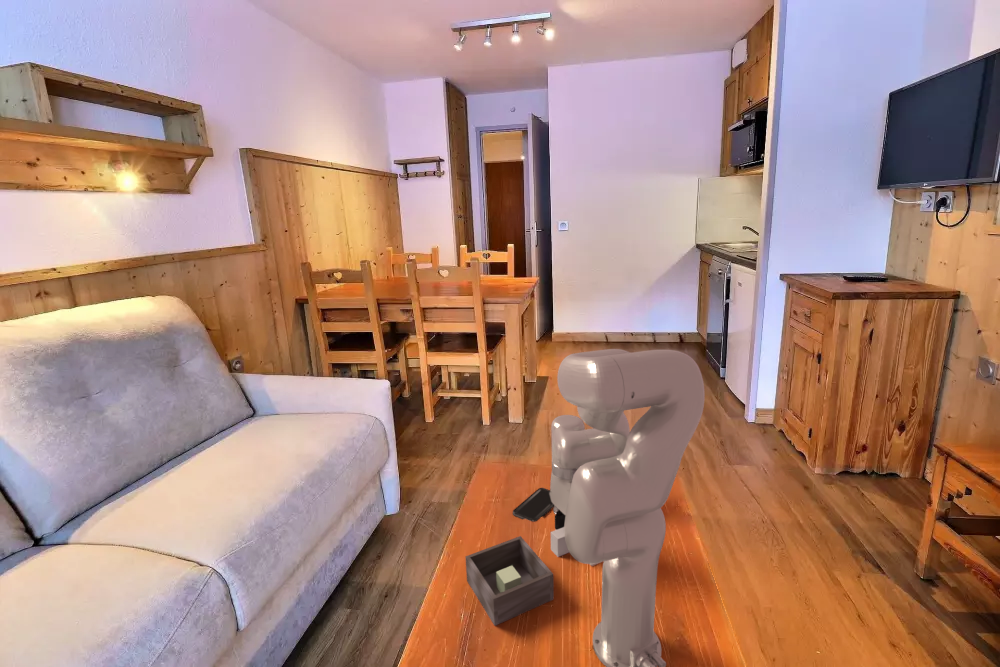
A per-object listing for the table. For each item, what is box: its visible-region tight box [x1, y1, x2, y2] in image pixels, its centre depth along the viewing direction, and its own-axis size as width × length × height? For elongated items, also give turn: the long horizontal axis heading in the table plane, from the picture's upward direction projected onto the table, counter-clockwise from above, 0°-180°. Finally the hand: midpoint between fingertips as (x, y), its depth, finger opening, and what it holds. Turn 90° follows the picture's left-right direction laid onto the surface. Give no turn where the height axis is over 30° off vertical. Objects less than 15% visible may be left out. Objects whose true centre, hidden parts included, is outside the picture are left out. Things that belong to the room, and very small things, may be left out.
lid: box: [550, 527, 602, 567], centre depth 120 cm, size 15×15×6 cm
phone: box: [512, 487, 554, 523], centre depth 138 cm, size 8×1×15 cm
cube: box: [496, 566, 521, 593], centre depth 107 cm, size 4×4×4 cm
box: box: [465, 535, 555, 626], centre depth 107 cm, size 14×14×7 cm
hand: (568, 534), depth 119 cm, fingers open, 5 cm apart
